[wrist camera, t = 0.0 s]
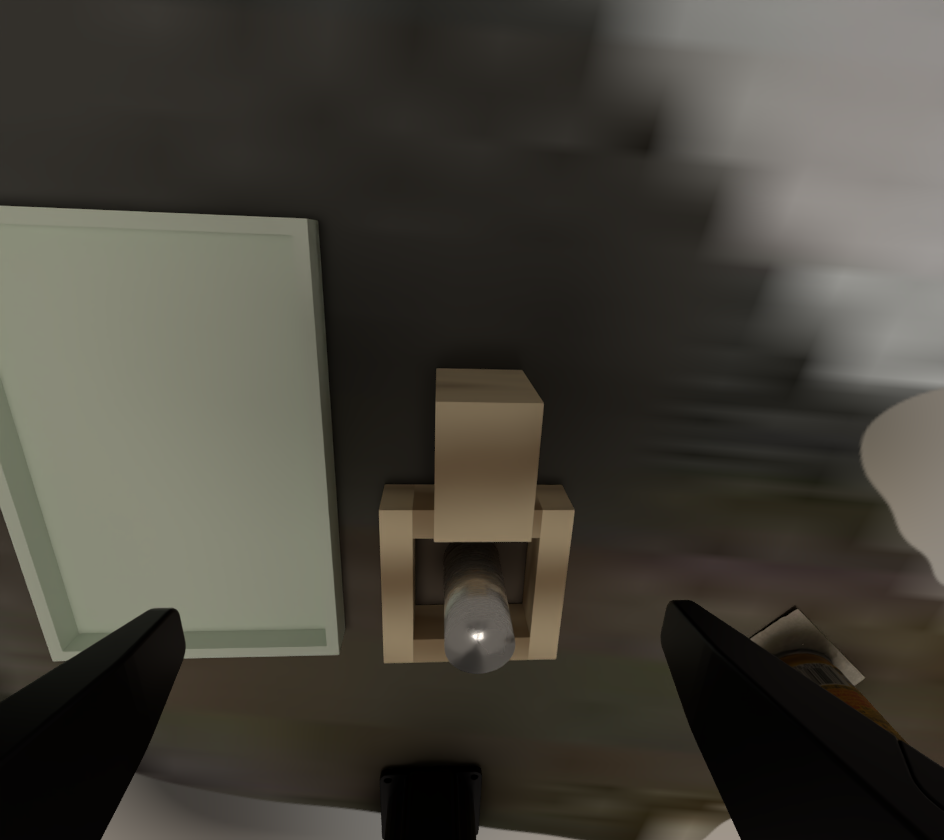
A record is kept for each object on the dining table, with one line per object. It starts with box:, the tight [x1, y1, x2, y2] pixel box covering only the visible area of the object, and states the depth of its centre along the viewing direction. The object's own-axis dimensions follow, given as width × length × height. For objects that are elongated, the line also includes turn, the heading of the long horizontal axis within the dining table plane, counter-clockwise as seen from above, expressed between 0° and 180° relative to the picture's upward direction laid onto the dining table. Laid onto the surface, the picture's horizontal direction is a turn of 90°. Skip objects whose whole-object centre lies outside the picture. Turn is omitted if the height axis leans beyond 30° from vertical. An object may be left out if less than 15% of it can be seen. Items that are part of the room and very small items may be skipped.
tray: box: [0, 206, 345, 661], centre depth 22 cm, size 21×14×2 cm
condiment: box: [750, 609, 909, 745], centre depth 25 cm, size 7×8×12 cm
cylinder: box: [443, 542, 515, 674], centre depth 23 cm, size 3×3×6 cm
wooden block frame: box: [379, 368, 575, 663], centre depth 23 cm, size 15×9×5 cm, turn 178°
